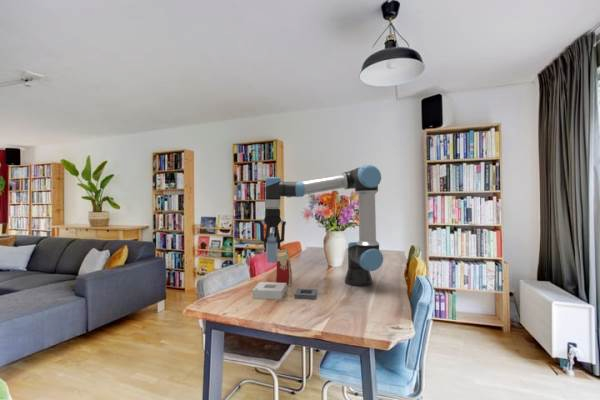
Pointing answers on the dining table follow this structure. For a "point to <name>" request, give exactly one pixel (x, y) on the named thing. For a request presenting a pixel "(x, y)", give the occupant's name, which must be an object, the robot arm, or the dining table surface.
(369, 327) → the dining table surface
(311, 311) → the dining table surface
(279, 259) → the milk carton
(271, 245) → the plug
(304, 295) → the dark grey square base
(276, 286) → the port
